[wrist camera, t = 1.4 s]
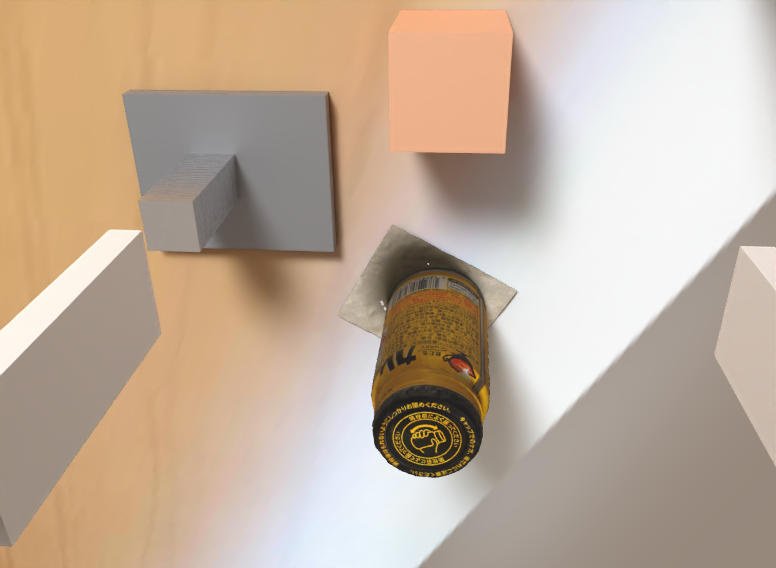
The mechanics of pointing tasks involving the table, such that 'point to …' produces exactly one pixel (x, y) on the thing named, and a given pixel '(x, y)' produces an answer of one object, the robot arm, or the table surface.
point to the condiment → (427, 352)
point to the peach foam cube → (449, 81)
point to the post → (190, 202)
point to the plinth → (246, 159)
